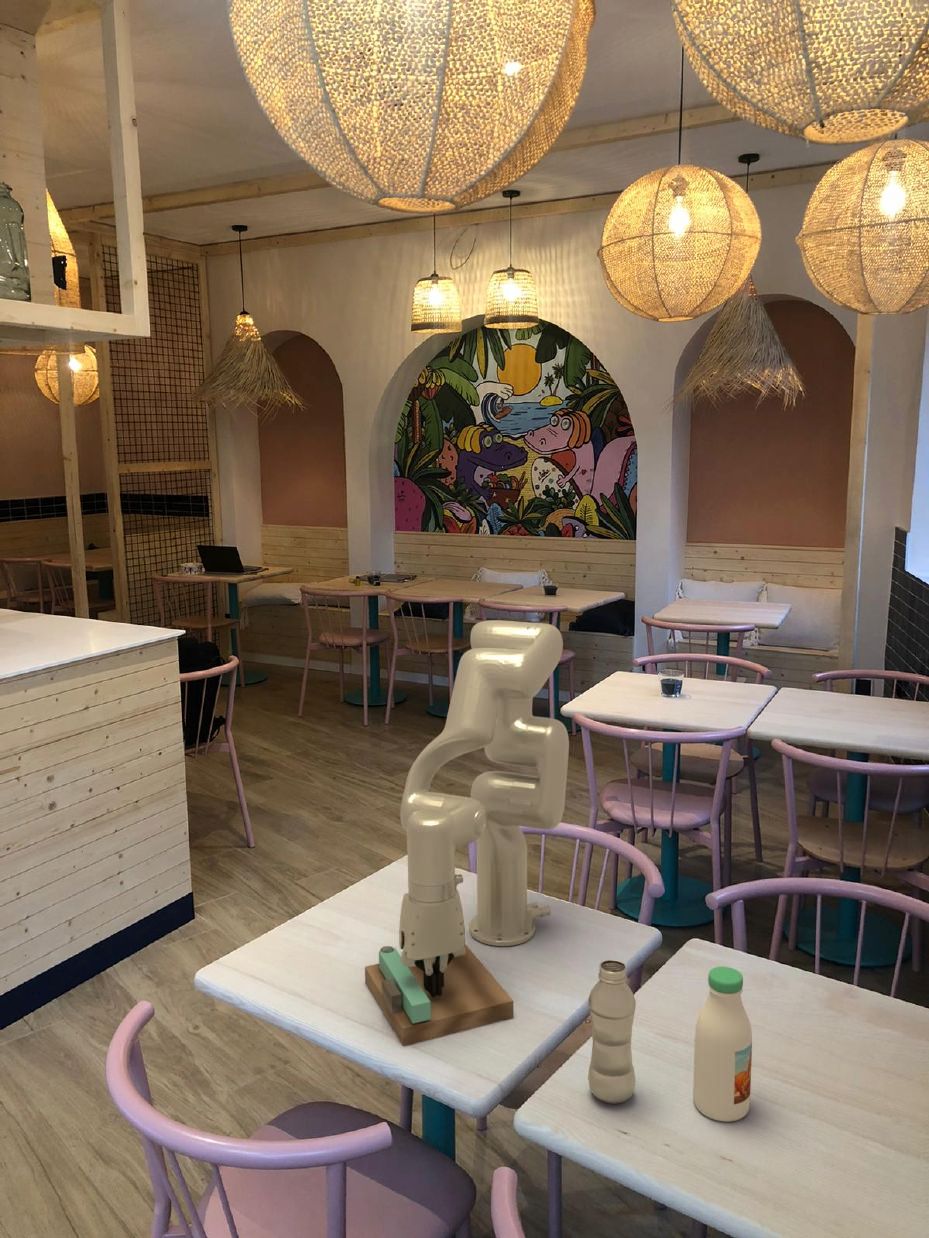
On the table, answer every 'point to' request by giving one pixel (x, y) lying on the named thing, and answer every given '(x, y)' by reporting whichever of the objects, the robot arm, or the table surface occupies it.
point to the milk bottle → (723, 1049)
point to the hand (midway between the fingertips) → (433, 991)
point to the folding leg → (405, 985)
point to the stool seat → (444, 1000)
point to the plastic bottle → (611, 1034)
